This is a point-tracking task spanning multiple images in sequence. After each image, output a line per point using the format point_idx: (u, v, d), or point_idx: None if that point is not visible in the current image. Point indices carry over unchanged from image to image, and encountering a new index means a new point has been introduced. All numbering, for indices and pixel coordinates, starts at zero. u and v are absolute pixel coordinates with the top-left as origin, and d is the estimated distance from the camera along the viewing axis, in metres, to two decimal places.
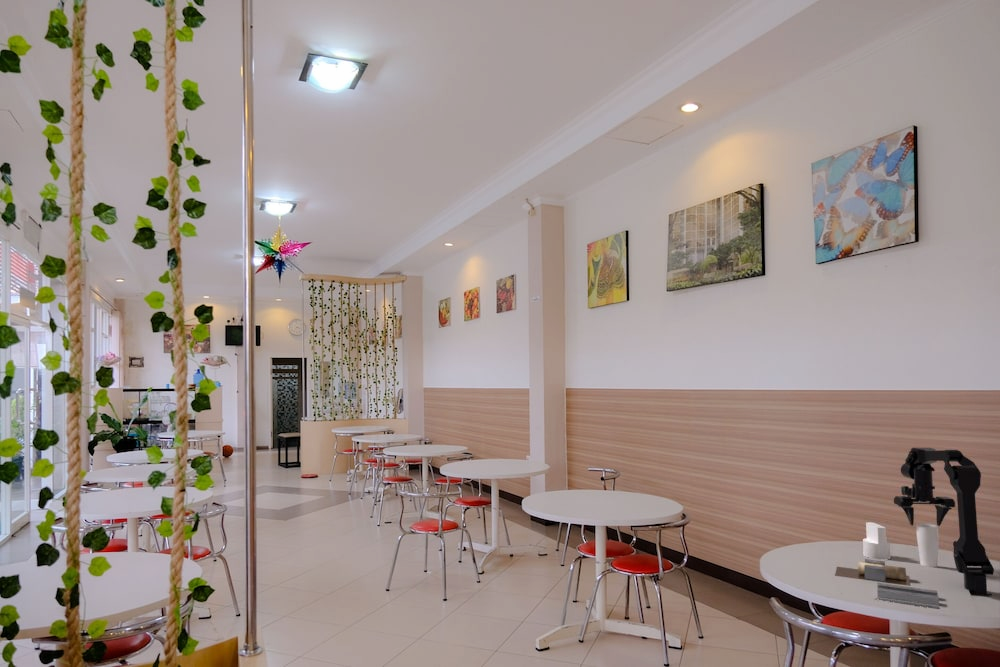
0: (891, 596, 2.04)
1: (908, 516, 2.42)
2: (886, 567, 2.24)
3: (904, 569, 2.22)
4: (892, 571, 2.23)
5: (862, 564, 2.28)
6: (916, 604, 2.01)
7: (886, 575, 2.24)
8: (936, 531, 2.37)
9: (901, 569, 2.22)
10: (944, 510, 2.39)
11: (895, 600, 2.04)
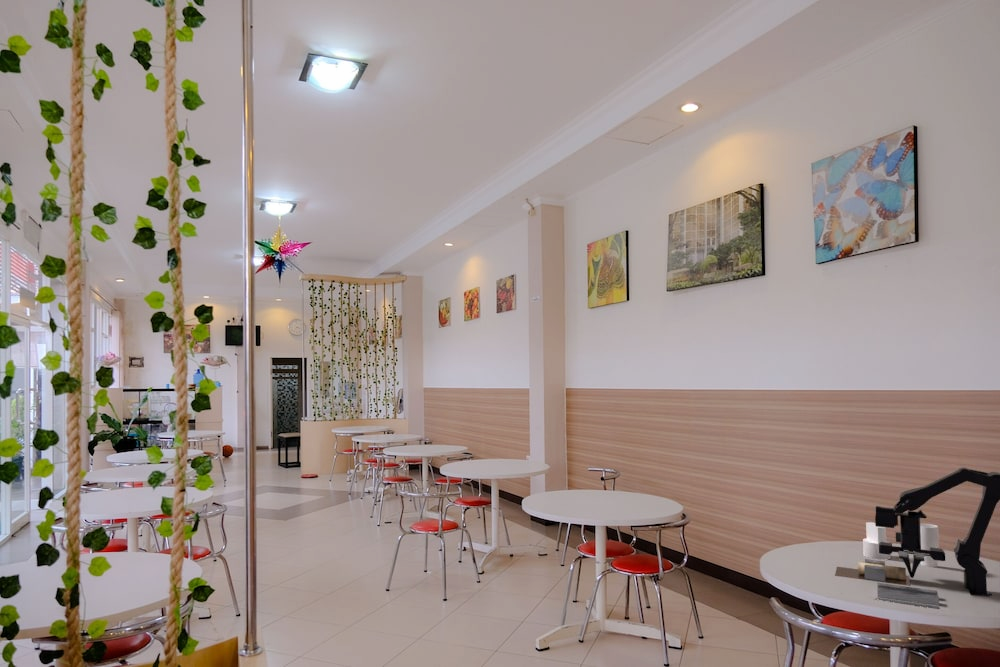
0: (891, 596, 2.04)
1: None
2: (886, 567, 2.24)
3: (904, 569, 2.22)
4: (891, 571, 2.23)
5: (862, 564, 2.28)
6: (916, 604, 2.01)
7: (886, 575, 2.24)
8: (936, 531, 2.37)
9: (901, 569, 2.22)
10: (915, 561, 2.19)
11: (895, 600, 2.04)
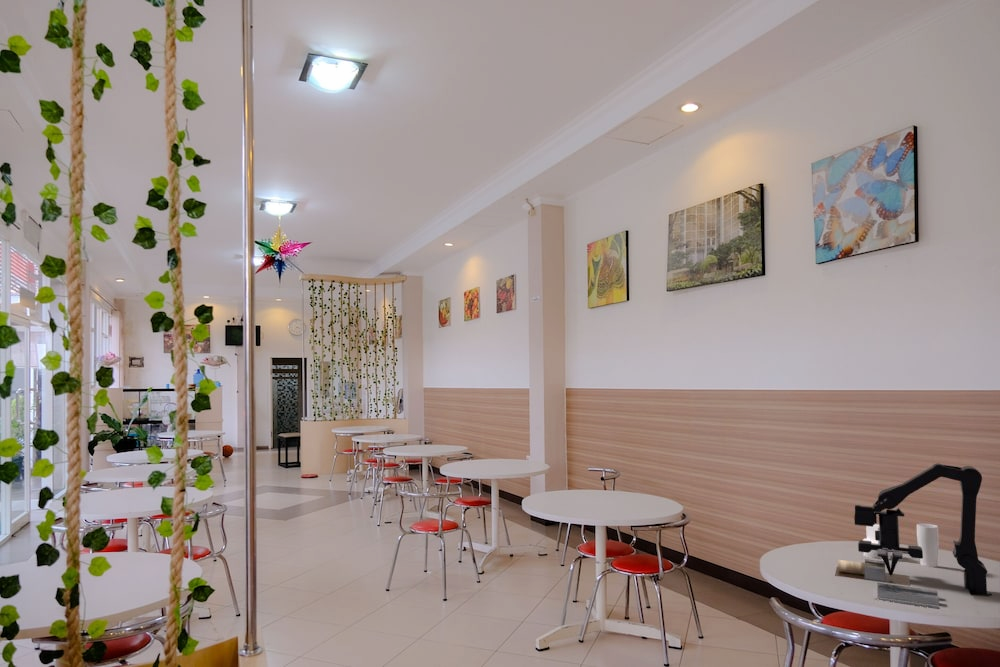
0: (891, 596, 2.04)
1: None
2: None
3: None
4: None
5: (842, 562, 2.31)
6: (916, 604, 2.01)
7: None
8: (936, 531, 2.37)
9: None
10: (893, 559, 2.22)
11: (895, 600, 2.04)
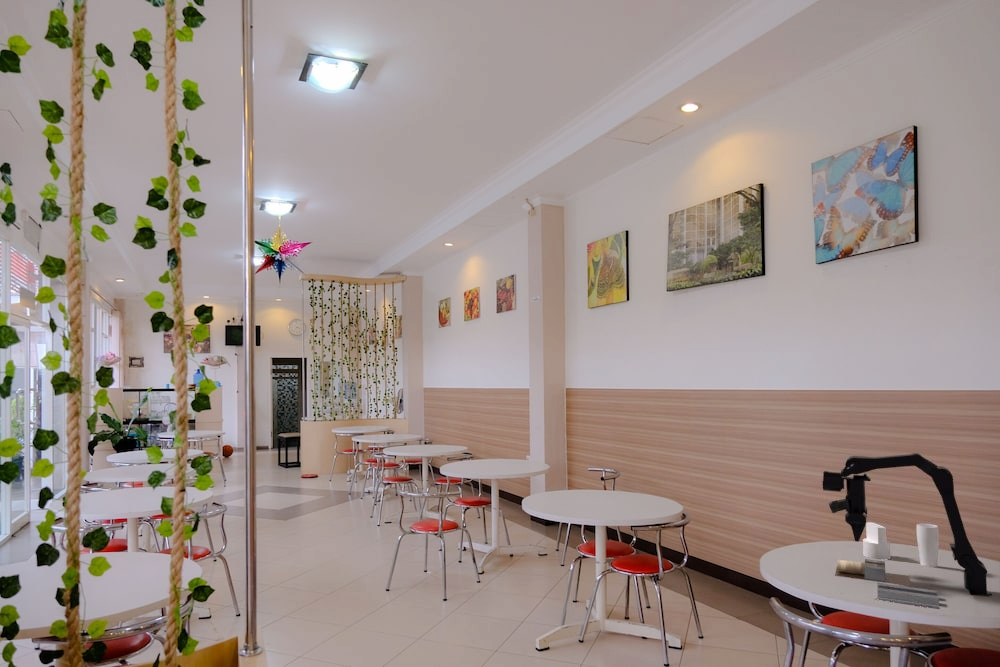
0: (891, 596, 2.04)
1: (857, 532, 2.25)
2: None
3: (882, 566, 2.25)
4: None
5: (841, 562, 2.31)
6: (916, 604, 2.01)
7: None
8: (936, 531, 2.37)
9: (879, 566, 2.25)
10: None
11: (895, 600, 2.04)
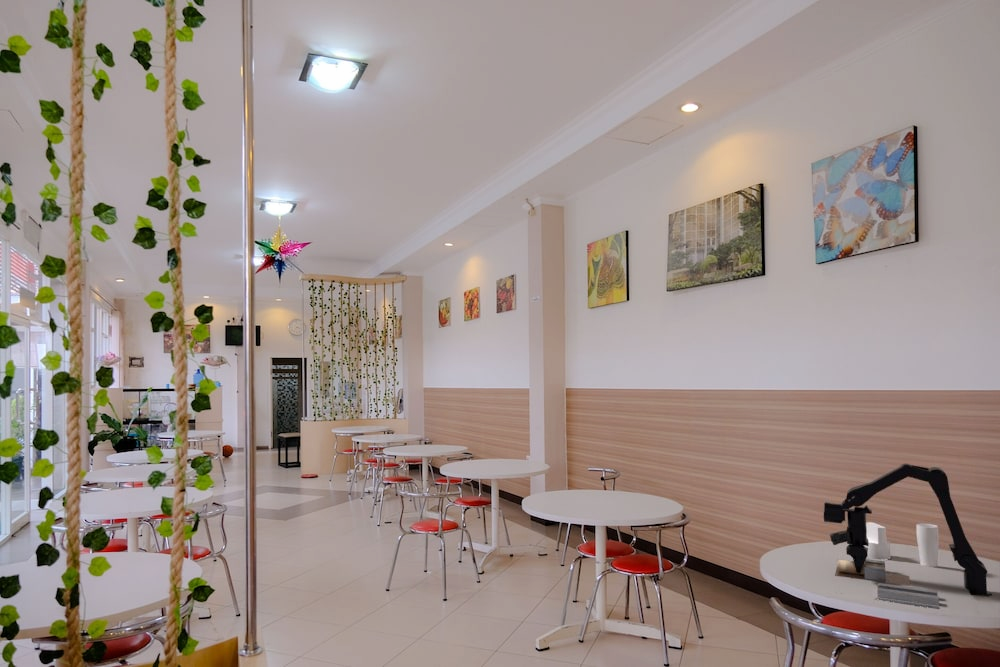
0: (891, 596, 2.04)
1: (858, 564, 2.26)
2: None
3: (882, 566, 2.25)
4: None
5: (841, 562, 2.31)
6: (916, 604, 2.01)
7: None
8: (936, 531, 2.37)
9: (879, 566, 2.25)
10: None
11: (895, 600, 2.04)
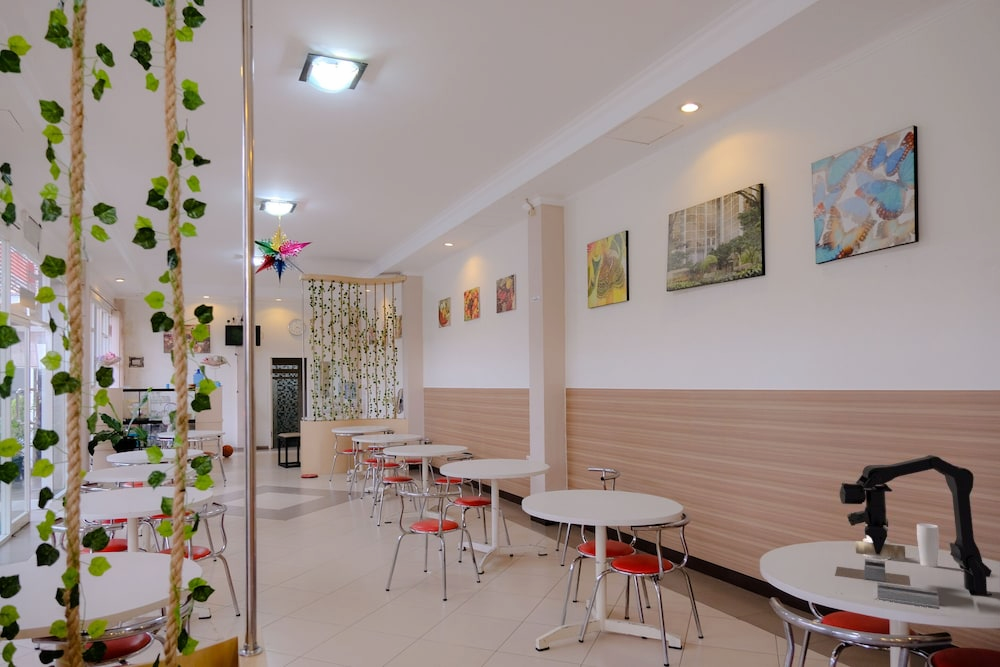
0: (891, 596, 2.04)
1: (877, 545, 2.16)
2: (884, 546, 2.17)
3: (903, 547, 2.14)
4: (890, 550, 2.15)
5: (860, 543, 2.20)
6: (916, 604, 2.01)
7: (884, 554, 2.16)
8: (936, 531, 2.37)
9: (900, 547, 2.14)
10: (886, 532, 2.20)
11: (895, 600, 2.04)
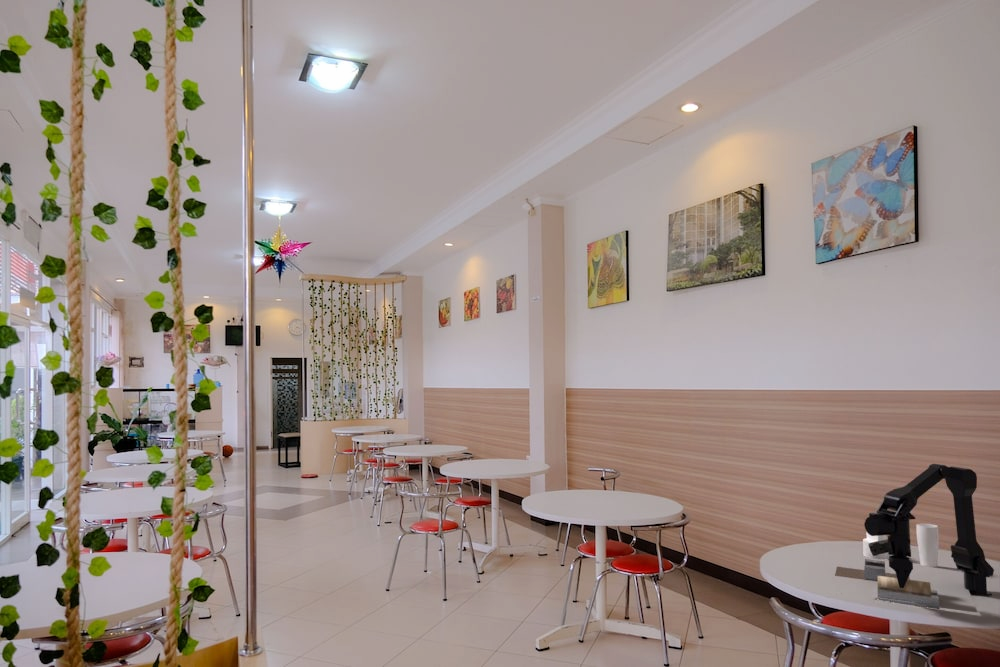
0: (891, 596, 2.04)
1: (901, 578, 2.03)
2: (909, 582, 2.05)
3: (929, 584, 2.02)
4: (915, 586, 2.03)
5: (882, 578, 2.08)
6: (916, 604, 2.01)
7: (909, 590, 2.04)
8: (936, 531, 2.37)
9: (925, 584, 2.03)
10: None
11: (895, 600, 2.04)
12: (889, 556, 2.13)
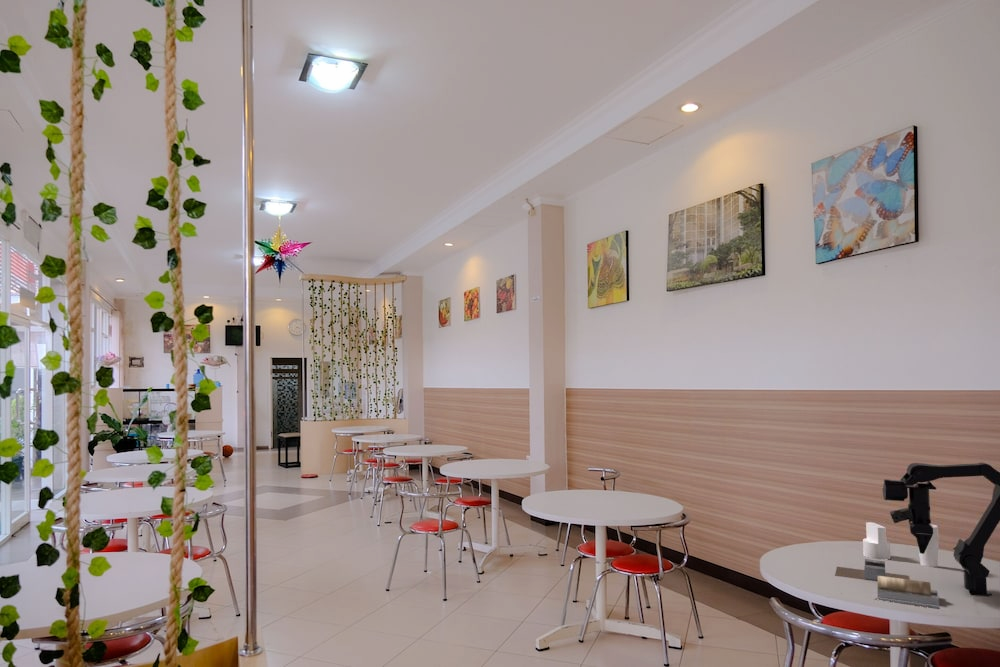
0: (891, 596, 2.04)
1: (922, 544, 2.14)
2: (909, 582, 2.05)
3: (929, 584, 2.02)
4: (915, 586, 2.03)
5: (882, 578, 2.08)
6: (916, 604, 2.01)
7: (909, 590, 2.04)
8: (936, 531, 2.37)
9: (925, 584, 2.03)
10: None
11: (895, 600, 2.04)
12: (909, 523, 2.26)
